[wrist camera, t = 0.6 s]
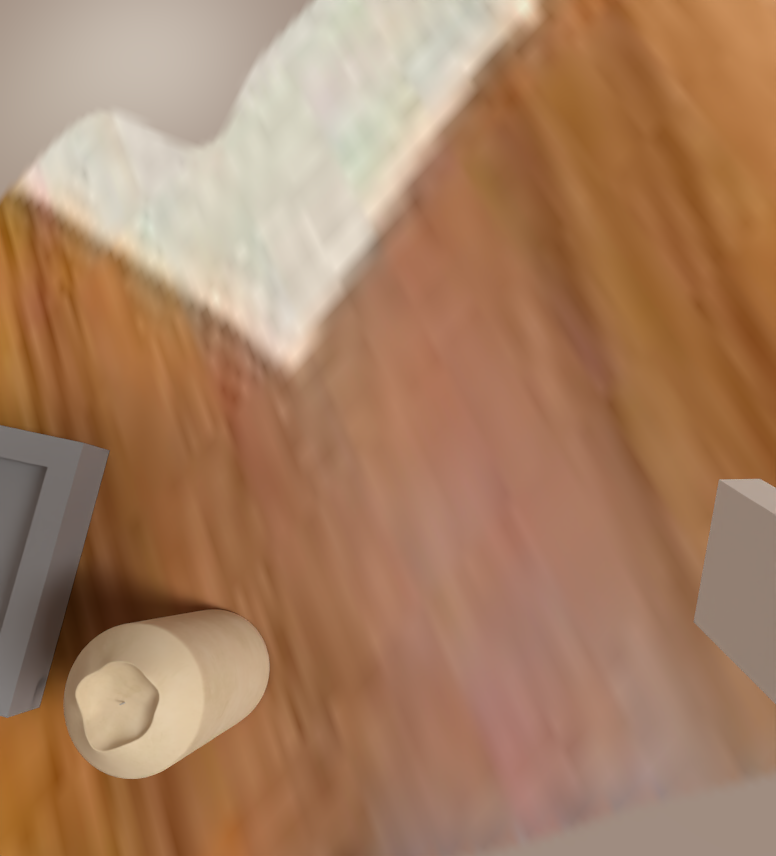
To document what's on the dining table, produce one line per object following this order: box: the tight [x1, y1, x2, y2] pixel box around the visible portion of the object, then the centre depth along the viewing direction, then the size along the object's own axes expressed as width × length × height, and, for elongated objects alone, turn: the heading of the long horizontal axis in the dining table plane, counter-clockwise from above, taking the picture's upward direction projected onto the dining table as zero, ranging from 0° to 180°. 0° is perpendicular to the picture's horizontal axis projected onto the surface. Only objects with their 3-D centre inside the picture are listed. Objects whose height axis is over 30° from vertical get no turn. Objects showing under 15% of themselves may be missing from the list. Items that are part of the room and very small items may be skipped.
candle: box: [64, 609, 270, 779], centre depth 31 cm, size 6×6×10 cm
